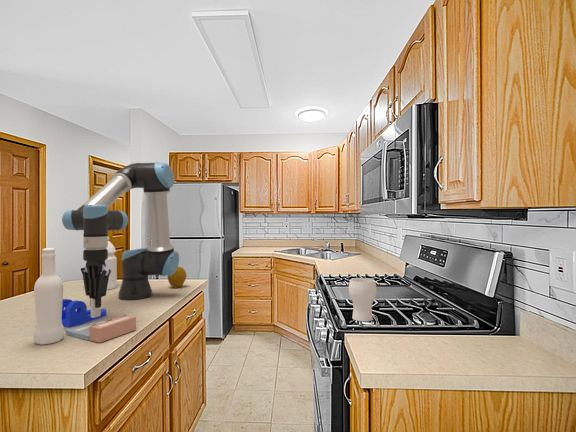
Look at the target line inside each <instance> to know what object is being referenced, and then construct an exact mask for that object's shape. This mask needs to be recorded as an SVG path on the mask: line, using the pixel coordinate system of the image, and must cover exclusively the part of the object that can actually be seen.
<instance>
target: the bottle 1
mask: <svg viewBox="0 0 576 432" xmlns="http://www.w3.org/2000/svg"><path fill="white" fill-rule="evenodd" d="M41 250H42V251H41V252H42V253H41V255H40V256H41V275H40V276H39V277H38V279H36V281H35V283H34V287H33V293H34V295H33V296H34V305H35V307H34V308H35V319H36V325H35V329H34V332H33V335H34V336H33V339H34V343H36V344H37V345H42V346H43V345H51V344H55V343H58V342H60V341H61V340H63V338H64V336H65V327H63V325H62V302H63V299H64V298H63V297H64V282H63V280H62V279H61V278H60V276H58V274H57V273H56V271H57V270H56V252H55V251H56V250H55V248H54V247H46V248H45V247H44V248H42V249H41Z"/></svg>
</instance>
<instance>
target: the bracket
mask: <svg viewBox="0 0 576 432" xmlns="http://www.w3.org/2000/svg"><path fill="white" fill-rule="evenodd" d="M87 309H88V307H87V304H86V303H85V302H84V301H83V300H72V299H69V298H68V299H67V298H63V302H62V325H63V327H64V328H67V329H72V328H75V327H78V326H82V325H85V324H88V323H91V322H92V321H95V320H98V319H99V320H100V319H102V318H105V317H106V316H107V309H106V308H101V316H99V317H95V318H92V317H91V309H88V310H87Z"/></svg>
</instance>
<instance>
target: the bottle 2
mask: <svg viewBox="0 0 576 432" xmlns="http://www.w3.org/2000/svg"><path fill="white" fill-rule="evenodd" d="M109 240H110V236H108V247H107V248H106V249H107V250H108V259H106V260H105V264H106V268H107V269H108V270H109V269H110V270H111V273H110V275H109V279H108V285H107V291H108V290H113V289H115V288H117V286H118V281H117V279H118V275H117V274H118V272H117V269H118V267H117V266H118V265H117V263H118V261H117V260H118V257H117V256H116V255H115V254H116V252H117V250H116V247H115V246H114V244H113V243H112V242H111V241H109Z"/></svg>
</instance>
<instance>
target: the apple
mask: <svg viewBox="0 0 576 432" xmlns="http://www.w3.org/2000/svg"><path fill="white" fill-rule="evenodd" d="M186 279H187V272H186V269H184V267H182V266H178V267H177V270H176V272H175V273H174V274H173V275H167V280H168V284H169V286H170V287H172V288H174V289H177V288H181V287H182V286H183V285H184V283H185V281H186Z"/></svg>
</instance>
